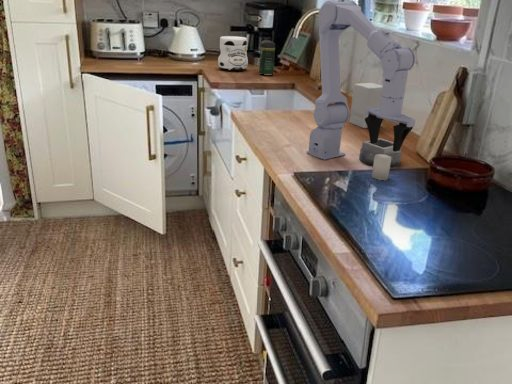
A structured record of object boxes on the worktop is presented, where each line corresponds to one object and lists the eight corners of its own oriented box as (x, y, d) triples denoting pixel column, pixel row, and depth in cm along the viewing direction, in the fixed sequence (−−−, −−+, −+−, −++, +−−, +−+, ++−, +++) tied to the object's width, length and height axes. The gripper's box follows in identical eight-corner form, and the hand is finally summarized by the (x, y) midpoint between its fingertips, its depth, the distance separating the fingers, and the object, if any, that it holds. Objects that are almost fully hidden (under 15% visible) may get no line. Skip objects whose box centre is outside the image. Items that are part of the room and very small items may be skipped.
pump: (381, 181, 133) (384, 160, 130) (368, 176, 136) (371, 156, 133) (394, 177, 136) (397, 157, 134) (381, 172, 139) (385, 152, 137)
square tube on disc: (382, 170, 141) (385, 152, 138) (351, 158, 149) (353, 141, 147) (408, 163, 148) (411, 145, 145) (376, 152, 156) (378, 135, 154)
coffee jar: (274, 76, 272) (276, 41, 264) (260, 76, 271) (262, 41, 263) (271, 73, 281) (273, 39, 273) (257, 73, 279) (259, 39, 272)
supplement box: (382, 126, 185) (388, 86, 179) (364, 128, 181) (369, 88, 175) (366, 120, 192) (371, 82, 186) (348, 122, 188) (353, 83, 182)
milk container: (237, 73, 275) (238, 40, 268) (211, 69, 283) (212, 37, 276) (253, 69, 289) (254, 38, 282) (228, 66, 297) (229, 35, 290)
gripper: (425, 100, 124) (416, 151, 129) (379, 89, 134) (373, 137, 140) (408, 103, 120) (399, 156, 125) (362, 92, 130) (356, 141, 135)
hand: (384, 146), depth 132 cm, fingers open, 7 cm apart
